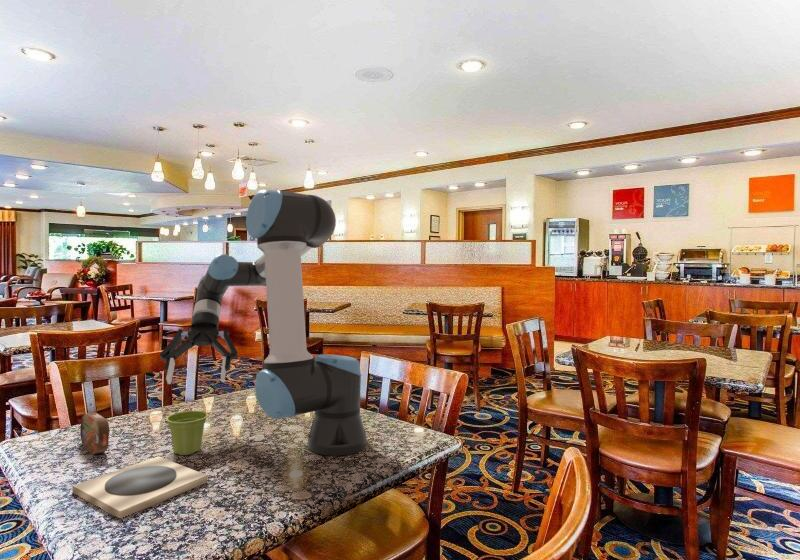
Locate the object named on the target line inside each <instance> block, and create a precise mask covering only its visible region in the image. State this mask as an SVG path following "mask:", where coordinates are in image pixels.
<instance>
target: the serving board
mask: <svg viewBox="0 0 800 560" xmlns="http://www.w3.org/2000/svg"><path fill="white" fill-rule="evenodd" d="M207 483H208V474H205V473H202V472H200V471H197V470H194V469H192V468H189V467H187V466H184V465H182V464H179V463H177V462H174V461H173V460H169V459H167V458H165V457H161V456H160V455H158V456H156V457H153V458H150V459H147V460H144V461H141V462H137V463H134V464H132V465H128V466H126V467H123V468H120V469H117V470H114V471H112V472H109V473H105V474H102V475H100V476H96V477H94V478H90V479H87V480H85V481H82V482H79V483H76V484H72V486H71V488H72V489H71V490H72V491H71V492H72V494H73V493H74V494H73V495H75V494H76V496H77V495H78V496H77V497H79V498H81V499H82V498H83V500H84V499H85V500H84V501H86V502H88V501H89V502H88V503H89V504H91V503H92V504H91V505H93V504H94V505H93V506H95V505H96V506H95V507H97V506H98V507H100V508H101V509H100V508H99V509H100V510H102V509H103V510H102V511H104V510H105V511H104V512H106V511H107V512H109V513H111V514H112V515H111V514H110V515H111V516H113V515H114V516H113V517H115V516H116V517H118V518H122V519H124V518H126V517H125V516H127V517H129V516H131V514H132V515H133V513H134V514H136V513H138V511H139V512H140V511H144V510H146V509H148V508H150V507H152V506H155V505H157V504H159V503H161V502H164V501H166V500H170V499H171V498H174V497H176V496H178V495H180V494H183V493H185V492H187V491H190V490H193V489H194V488H197V487H200V486H202V485H204V484H207ZM98 507H97V508H98ZM107 512H106V513H107ZM135 512H136V513H135ZM109 513H108V514H109ZM128 515H129V516H128ZM116 517H115V518H116ZM123 517H124V518H123ZM118 518H117V519H118Z"/></svg>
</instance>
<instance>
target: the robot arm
mask: <svg viewBox="0 0 800 560" xmlns="http://www.w3.org/2000/svg"><path fill="white" fill-rule="evenodd" d="M336 223H337V219H336V214H335V211H334V209H333V208H332V206H331V205H330V204H329V202H328V201H327V200H326V199H324V198H322V197H320V196H317V195H316V194H315V195H314V194H306V193H298V192H291V191H286V190H284V191H283V190H280V189H274V190H273V189H261V190H259V191H258V192H257V193H255V194H254V196H253V197H252V198H251V200H250V203H249V205H248V208H247V212H246V219H245V226H246V230H247V233H248V235H249V236H250V237H252V238H253V239H256V244H257V245H256V248H258V250H260V251H261V252H262V255H261V256H260V257H259V258H258V259H256V260H255V261H238V260H237V259H236V258H235V257H233V256H232V255H228V254H226V253H220V254H217V255H216V256H214V257H213V259H212V260H211V262H210V264H209V266H208V267H207V270H206V273H205V275H203V276H201V278H200V280H199V283H198V285H197V291H196V299H195V303H194V307H193V308H194V309H193V312H192V318H191V323H190V328H189V330H188V331H187V330H183V329H182V328H179V329H178V330H177V332H176V335H175V336H174V337H173V338H172V339H171V341H170V342H169V343H168V344H167V345H166V346H165V347H164V349H163V350H162V351H161V352H160V353H159V356H160V359H161V361H162V362H165V364H164V371H165V372H166V378H165V380H166V383H167V385H171V384H172V381H173V376H174V371H175V366H176V362H175V360H177V359H178V358H179V357H181V356H182V355H183V354H184V353H186V352H187V351H188V350H189V349H192V348H193V347H194V346H196V347H201V346H203V347H204V346H205V347H208V346H209V345H210V346H212V348H214V349H215V350H216V351H217V352H218V353H219V354H220V355H221V356H222V364H221V371H220V380H221V383H225V381H226V372H227V371H230V369H231V363H232V360H238V358H239V354H238V350H237V349H236V346H235V345H234V343H233V342H232V339H231V337H230V335H229V334H230V333H229V330H228V329H229V328H224V329H223V330H220V331H219V325H220V317H221V311H222V303H223V302H222V301H223V297H224V295H225V294H226V292H227V291H228V289H229V287H248V286H249V287H259V286H260V287H266V291H265V292H266V305H267V308H266V309H267V323H268V343H269V354H268V356H267V357H266V358H265V359H264V360H263V369H261V370H260V371H259V372H257V373H256V376H255V378H256V379H254V380H255V381H254V390H255V396H256V399H257V401H258V405H259V407H260V408H261V409H262V412H264V414H265V415H266V416H267V417H269V418H271V419H273V420H281V419H285V418H288V419H291V418H293V417H295V416H299V415H305V414H308V413H313V412H314V417H313V420H312V423H311V425H310V430H309V432H308V436H307V449H308V450H309V451H311V452H313V453H315V454H317V455H322V456H329V457H330V456H332V457H336V456H339V457H340V456H345V455H346V456H347V455H351V454H356V453H358V452H360V451H362V450H364V449H366V447H367V433H366V431H365V428H364V424H363V421H362V418H361V382H362V381H361V379H362V378H361V377H362V374H361V373H362V372H361V371H362V370H361V363H360V361H359V360H358V359H357V358H355V357H352V356H347V355H340V354H324V353H323V354H321V353H320V354H317V355H315V356H314V355H312V354H311V353H310V352H309V351H308V348H307V335H306V321H305V320H306V317H305V304H304V303H305V302H304V288H303V287H304V286H303V285H304V284H303V269H302V257H303V256H304V255H305V254H306V253H308V252H309V251H310V250H311V249H318V248H320V247H321V246H323V245H324V244H325V243H327V242H328V241H329V240H330V238H332V235H333V234H334V232H335V229H336ZM219 337H220V338H221V339H223V340H224V342H225V344H226V346H227V348H228V350H229V351H228V350H227V349H226V347H224V346H223V345H222V344H221V343H220V341H218V338H219ZM185 338H186V339H185ZM183 340H185V341H183ZM182 341H183V342H182ZM314 357H315V358H314Z"/></svg>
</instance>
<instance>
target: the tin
mask: <svg viewBox="0 0 800 560" xmlns="http://www.w3.org/2000/svg"><path fill="white" fill-rule="evenodd" d="M79 433H80V441H81V442H80V443H81V445H82V446H83V448H84V449H86V451H88V452H89V453H90V454H91V455H96V454H102V453H105V452H106V451H107V450H108V449H109V440H110V439H109V438H110V425H109V422H108V420H107V418H105V417H104V416H102V415H101V414H100V413H98V412H89V413H88V412H87V413H84V414H83V415H82V417H81V419H80V431H79Z"/></svg>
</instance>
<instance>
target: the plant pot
mask: <svg viewBox="0 0 800 560" xmlns="http://www.w3.org/2000/svg"><path fill="white" fill-rule="evenodd" d="M208 416H209V414H208V412H206V411H203V410H202V411H201V410H189V411H180V412H175V413H173V414H169V415H168V416H167V417H166V418H165V419H166V420H165V421H166V422H167V423H168V427H169V429H170V430H169V431H170V435H171V442H172V450H173V453H174V454H176V455H177V454H178V455H179V456H186V455H187V456H188V455H192V454H195V453H196V452H199V451H201V449H202V443H203V442H202V441H203V434H204V430H205V429H204V428H205V423H206V422H207V421H206V420H207V418H208Z"/></svg>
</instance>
